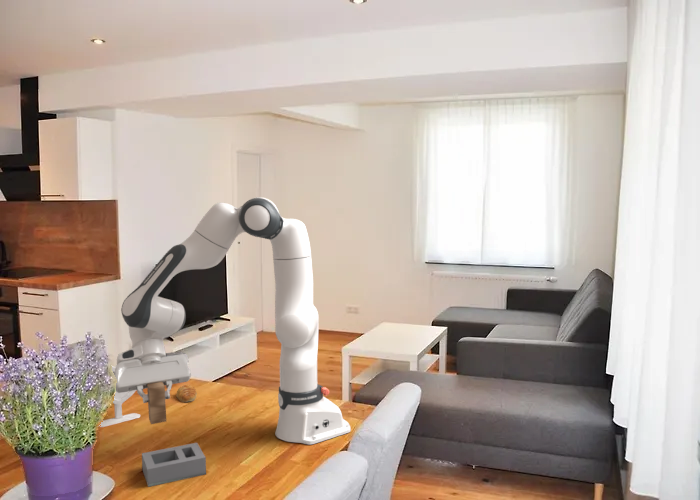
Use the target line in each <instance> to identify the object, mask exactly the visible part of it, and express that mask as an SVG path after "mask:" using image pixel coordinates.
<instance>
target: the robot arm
mask: <svg viewBox="0 0 700 500" xmlns="http://www.w3.org/2000/svg"><path fill="white" fill-rule="evenodd" d="M242 233H247V234H248V235H250V236H252V237H256V238H260V239H265V240H269V241H270V244H271V248H272V249H271V250H272V258H273V259H272V260H273V273H274V283H275V284H274V287H275V290H274V291H275V292H274V293H275V294H274V326H275V327H274V328H275V329H274V332H275V336H276V339H277V341H278V342H279V343H280V344H281V345H280V357H279V386H278V394H277V395H278V396H277V397H278V399H277V400H278V406H279V412H278V414H279V415H278V419H277V424H276V425H277V426H276V429H275V433H274V434H275V436H276V438H277V439H280V440H282V441H284V442H288V443H301V444H304V445H314V444H317V443H321V442H324V441H326V440H327V441H328V440H330V439H333V438H336V437H339V436H342V435H346V434H349V433H350V432H351V430H352V429H351V425H350V423H349V422H348V421H347V420H345V419H344V418H343V414H342V411H341V409H340V407H339V406H338V405H336V404H335V403H334V402H333V401H331V400H330V399H328V398H327V397H325V396H329V394H330V390H329V389H328V388H327V387H326V386H323V385H320V384H319V383H318V352H319V350H318V349H319V331H320V330H319V323H320V316H319V312H318V309H317V307H316V306H315V305H314V274H313V273H314V272H313V261H312V249H311V243H310V237H309V234H308V231H307V227H306V225H305V223H304V222H303V221H301V220H299V219H297V218H285V217H283V216H281V214H280V212H279V209H278V207H277V206H276V203H274V202H273V201H272V200H271V199H269V198H267V197H263V196H259V197H258V196H257V197H256V196H255V197H252V198H250V199H249V200H247V201H246V202H244V203H243V205H241V206H239V207H236V206H234V205H232V204H230V203H227V202H217V203H215V204H213V205H212V206H211V207H210V208H209V209H208V211H207V212H206V213H205V214H204V216H203V217H202V219H201V220H200V221H199V223H197V225H196V227H195V228H194V230H193V232H192V233H191V234H190V235H189V236H188V237H187V238H186V239H185V240H184V241H183V242H181V243H180V244H179V243H178V244H176V245H173V246H172V247H171V248H170V249H169V250H167V252H166V253H165V254H164V255H163V256H162V257H161V259H160V260H159V261H158V262H157V263H156V265H155V266H154V267H153V268H152V269H151V271H150V272H149V273H148V274H147V275H146V277H145V278H144V280H142V282H141V283H140V284H139V285H138V286H137V288H135V289H134V290H133V291H132V292H131V293H129V294H128V295H127V297H126V298H125V299H124V300H123V302H122V305H121V310H120V311H121V315H122V318H123V320H124V321H123V322H125V324H126V325H127V326H128V334H129V338H130V340H131V343H132V344H131V348H129V349H128V350H125V351H123V352H120V353H119V354H118V355H117V358H116V365H117V366H116V365H115V366H116V369H115V377H116V379H117V383H116V391H117V392H118V393H122V392H128V391H134V390H136V392H137V394H138V396H140V397H141V398H142V402H143V404H148V402H149V394H148V393H145V392H144V389H145V390H147V384H150V383H156V382H163V384H164V386H165V389H166V390H165V400H170V399H171V394H170V392H171V389H172V387H173V385H174V384H175V385H176V384H181V383H187V382H189V381H190V379H191V376H192V372H191V368H190V366H189V365H190V364H189V356H188V354H187V353H186V352H184V351H182V350H181V351H180V350H179V351H175V352H172V351H171V352H166V348H165V343H164V339H165V338H169V337H171V336H173V335H175V334H176V333H178V332H179V331H180V330H181V329H182V328H184V325H185V323H186V320H187V319H186V318H187V317H186V316H187V315H186V314H187V312H186V309H185V306H184V305H183V304H182V303H180V302H178V301H175V300H172V299H168V298H164V297H162V296H159V295H160V293H161V292H163V290H164V288H165V287H166V286H167V285H168V284H169V283H170V281H171V280H172V279H173V277H175V276H176V275H177V274H179V273H182V272H185V271H191V270H206V269H211V268H213V267H215V266H217V265H219V264H220V263H221V262H222V261H223V259H224V258H225V256H227V253H228V252H229V249H231V247H232V245H233V243H234V241H235V240H237V238H238V236H239V235H242Z"/></svg>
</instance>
